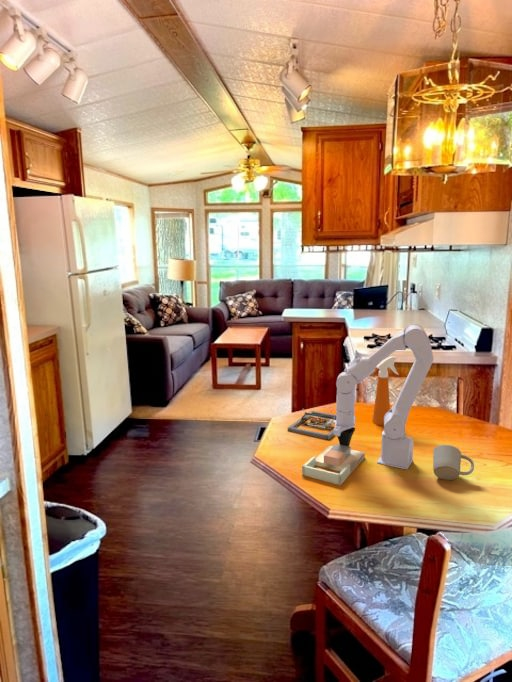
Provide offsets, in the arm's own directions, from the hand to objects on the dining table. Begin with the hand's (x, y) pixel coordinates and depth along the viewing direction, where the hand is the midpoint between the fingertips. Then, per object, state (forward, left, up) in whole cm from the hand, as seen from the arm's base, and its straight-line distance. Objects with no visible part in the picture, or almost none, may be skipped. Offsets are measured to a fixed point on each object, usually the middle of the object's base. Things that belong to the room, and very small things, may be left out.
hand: (344, 449), depth 156 cm
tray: (0, +15, -3) cm, 16 cm away
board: (0, +4, -3) cm, 5 cm away
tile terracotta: (0, +9, -1) cm, 9 cm away
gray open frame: (+17, -20, -3) cm, 27 cm away
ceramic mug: (-33, -2, -3) cm, 33 cm away
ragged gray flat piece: (+19, -20, -3) cm, 28 cm away
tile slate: (0, +4, -1) cm, 4 cm away
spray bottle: (-3, -38, -3) cm, 38 cm away
